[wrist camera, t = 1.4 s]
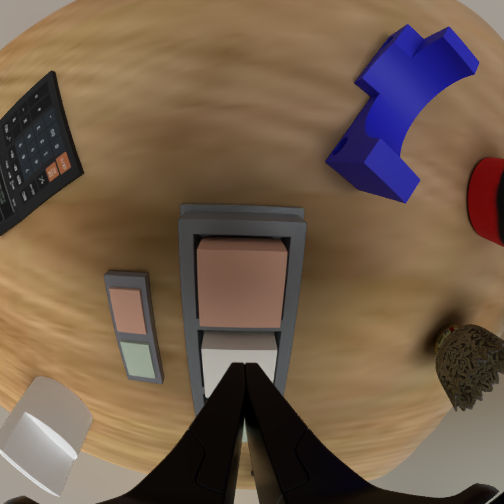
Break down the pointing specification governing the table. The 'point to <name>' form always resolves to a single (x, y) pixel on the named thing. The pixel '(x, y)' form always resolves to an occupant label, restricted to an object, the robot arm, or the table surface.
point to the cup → (468, 362)
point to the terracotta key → (241, 281)
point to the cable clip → (397, 108)
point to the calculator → (35, 152)
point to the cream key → (236, 353)
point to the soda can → (488, 199)
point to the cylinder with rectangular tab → (45, 433)
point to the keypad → (244, 226)
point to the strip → (134, 324)
